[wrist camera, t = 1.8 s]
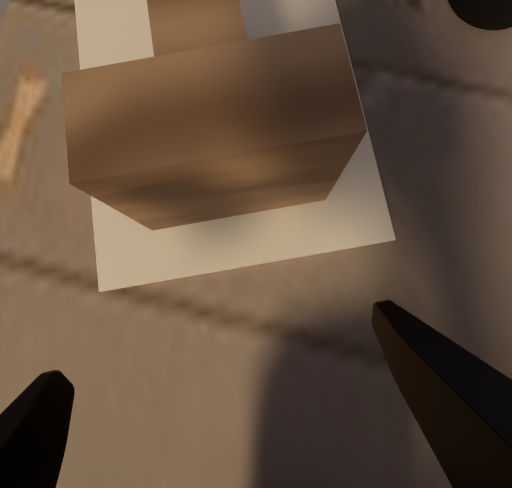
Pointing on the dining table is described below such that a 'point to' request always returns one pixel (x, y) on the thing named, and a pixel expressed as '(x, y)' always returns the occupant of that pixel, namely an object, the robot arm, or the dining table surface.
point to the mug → (484, 13)
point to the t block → (213, 119)
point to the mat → (241, 226)
